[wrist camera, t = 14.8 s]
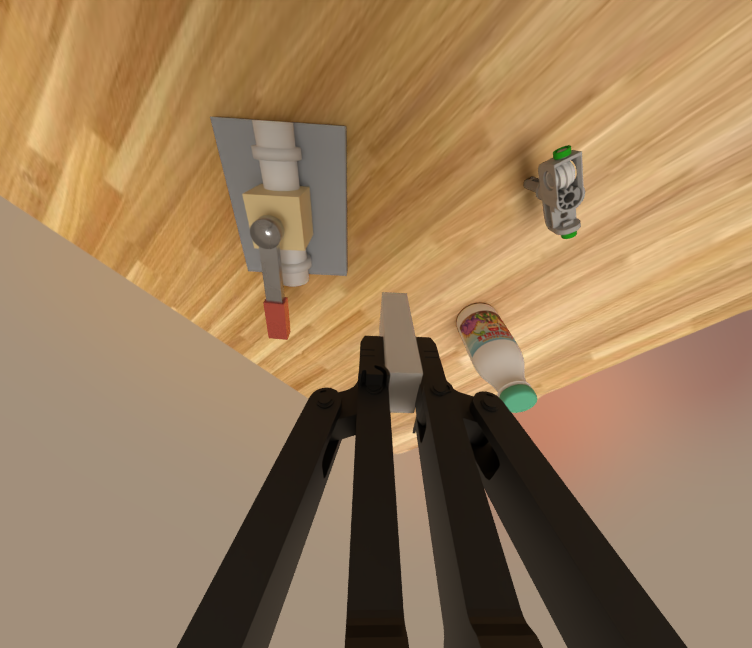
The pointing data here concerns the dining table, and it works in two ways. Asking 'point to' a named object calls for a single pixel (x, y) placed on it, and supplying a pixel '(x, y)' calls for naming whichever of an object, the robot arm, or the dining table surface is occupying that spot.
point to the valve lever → (272, 274)
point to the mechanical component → (560, 190)
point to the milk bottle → (496, 355)
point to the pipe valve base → (289, 190)
